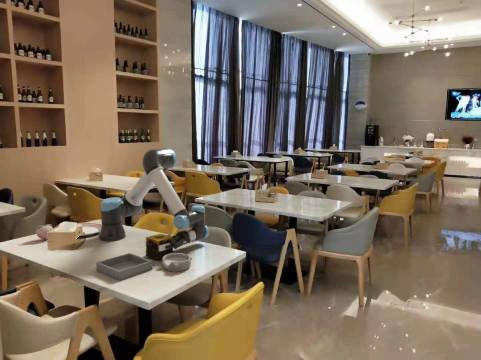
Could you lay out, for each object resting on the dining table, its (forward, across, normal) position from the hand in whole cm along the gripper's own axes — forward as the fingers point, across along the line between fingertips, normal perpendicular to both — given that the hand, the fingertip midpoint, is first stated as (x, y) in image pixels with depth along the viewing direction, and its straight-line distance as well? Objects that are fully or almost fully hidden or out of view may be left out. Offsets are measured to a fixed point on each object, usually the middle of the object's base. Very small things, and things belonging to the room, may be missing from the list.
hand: (152, 246), depth 198 cm
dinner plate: (-2, +73, -8) cm, 73 cm away
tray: (+18, -2, -7) cm, 19 cm away
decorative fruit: (+20, +74, -8) cm, 77 cm away
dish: (-1, -17, -7) cm, 18 cm away
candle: (-4, 0, -6) cm, 8 cm away
